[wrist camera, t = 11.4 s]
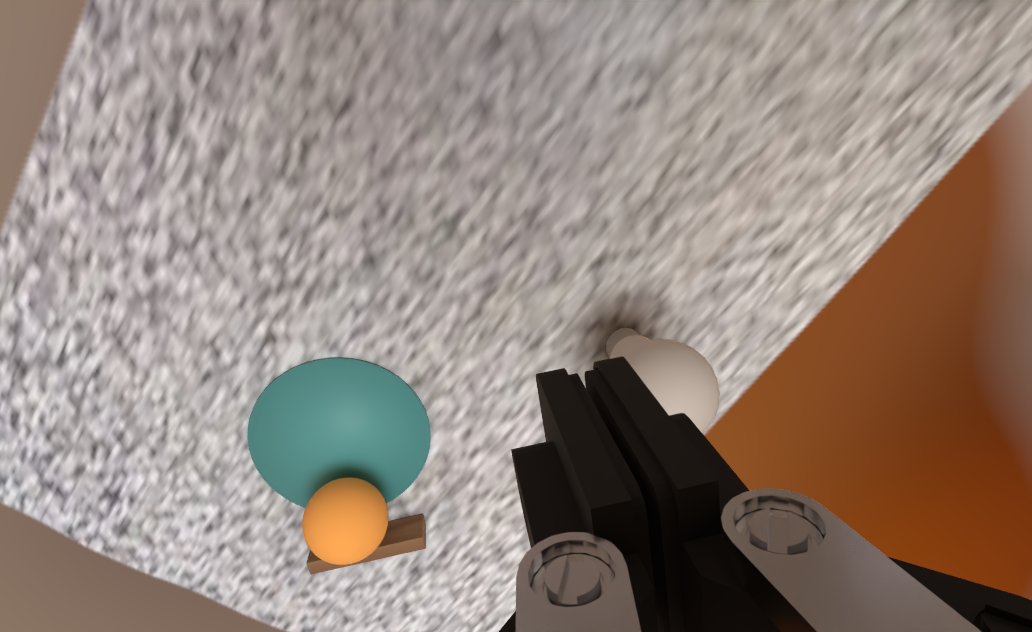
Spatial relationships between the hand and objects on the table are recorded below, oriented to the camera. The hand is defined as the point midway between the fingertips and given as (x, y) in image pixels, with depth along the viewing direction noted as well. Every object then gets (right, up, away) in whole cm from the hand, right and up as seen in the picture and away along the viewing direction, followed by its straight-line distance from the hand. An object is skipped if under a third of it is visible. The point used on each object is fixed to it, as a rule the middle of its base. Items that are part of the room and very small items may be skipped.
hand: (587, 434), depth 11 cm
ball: (-13, -11, +28) cm, 33 cm away
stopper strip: (-12, -13, +32) cm, 37 cm away
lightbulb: (+6, +1, +30) cm, 31 cm away
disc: (-13, -6, +29) cm, 33 cm away
